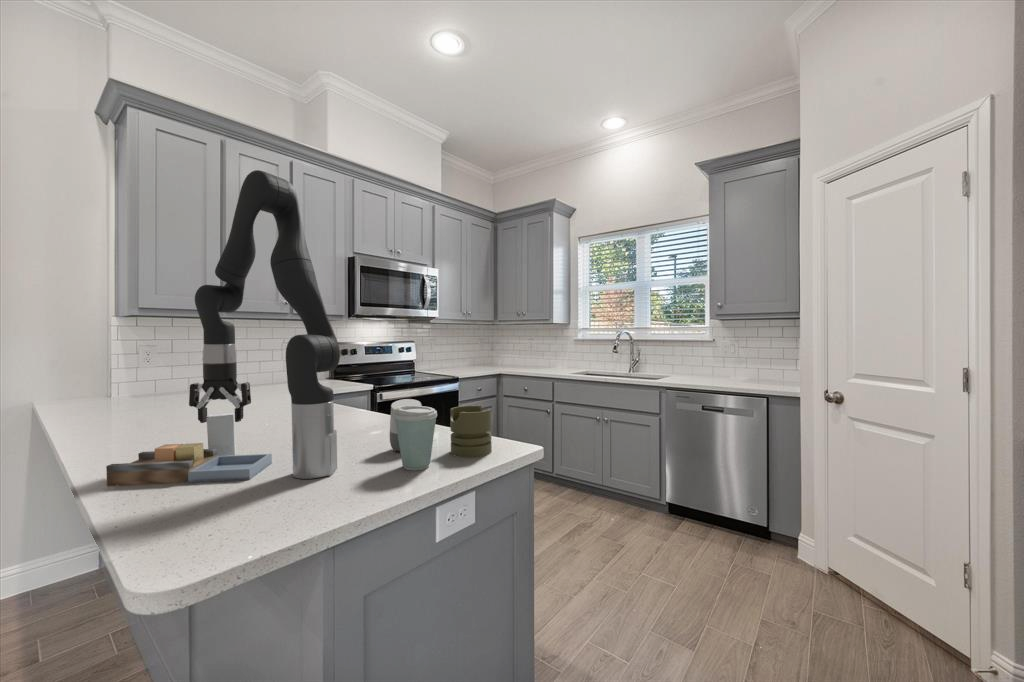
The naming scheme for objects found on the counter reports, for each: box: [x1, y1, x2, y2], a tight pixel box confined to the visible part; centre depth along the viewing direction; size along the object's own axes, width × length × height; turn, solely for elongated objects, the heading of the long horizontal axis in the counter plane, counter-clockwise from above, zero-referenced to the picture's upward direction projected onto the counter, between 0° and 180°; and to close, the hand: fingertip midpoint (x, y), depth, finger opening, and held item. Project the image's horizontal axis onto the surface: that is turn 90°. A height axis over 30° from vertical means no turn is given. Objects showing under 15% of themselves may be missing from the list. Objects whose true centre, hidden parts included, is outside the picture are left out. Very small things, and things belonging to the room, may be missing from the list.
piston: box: [449, 405, 493, 459], centre depth 126 cm, size 11×12×11 cm
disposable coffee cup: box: [394, 405, 438, 471], centre depth 113 cm, size 11×11×15 cm
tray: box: [187, 453, 273, 484], centre depth 110 cm, size 13×13×2 cm
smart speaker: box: [389, 398, 423, 453], centre depth 129 cm, size 10×9×14 cm
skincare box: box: [206, 412, 237, 456], centre depth 121 cm, size 6×4×12 cm
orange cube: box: [154, 443, 184, 462], centre depth 108 cm, size 4×4×4 cm
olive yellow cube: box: [176, 442, 204, 464], centre depth 109 cm, size 4×4×4 cm
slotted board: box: [105, 448, 217, 487], centre depth 108 cm, size 17×12×4 cm
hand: (220, 421), depth 121 cm, fingers open, 8 cm apart
